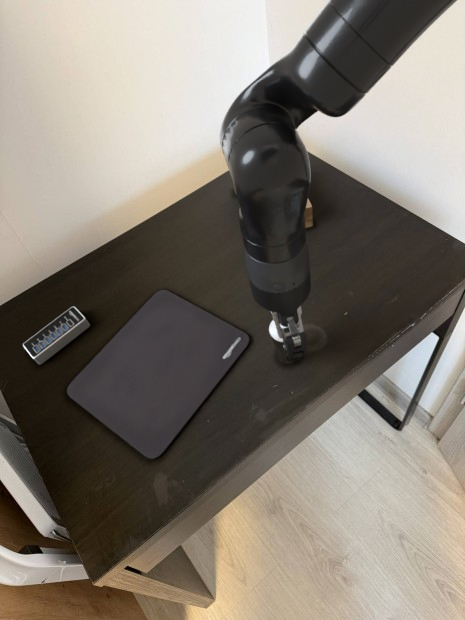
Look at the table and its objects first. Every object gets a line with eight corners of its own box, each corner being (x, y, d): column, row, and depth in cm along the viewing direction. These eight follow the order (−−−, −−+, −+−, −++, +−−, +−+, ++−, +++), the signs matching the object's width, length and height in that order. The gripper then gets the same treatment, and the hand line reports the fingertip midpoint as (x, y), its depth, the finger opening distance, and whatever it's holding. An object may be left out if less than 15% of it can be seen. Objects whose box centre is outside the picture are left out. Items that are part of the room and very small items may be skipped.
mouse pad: (154, 464, 68) (154, 463, 68) (63, 391, 78) (62, 391, 78) (253, 337, 78) (253, 337, 78) (161, 287, 87) (161, 286, 87)
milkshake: (291, 377, 73) (286, 343, 65) (268, 355, 76) (261, 320, 68) (312, 358, 74) (310, 323, 66) (289, 338, 77) (284, 302, 69)
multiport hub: (28, 350, 84) (21, 344, 82) (78, 312, 87) (73, 305, 85) (39, 365, 82) (33, 359, 80) (91, 325, 85) (85, 318, 83)
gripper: (327, 304, 52) (328, 373, 66) (291, 218, 61) (298, 295, 75) (262, 321, 53) (276, 388, 66) (235, 233, 61) (252, 308, 75)
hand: (287, 338), depth 70 cm, fingers open, 6 cm apart
